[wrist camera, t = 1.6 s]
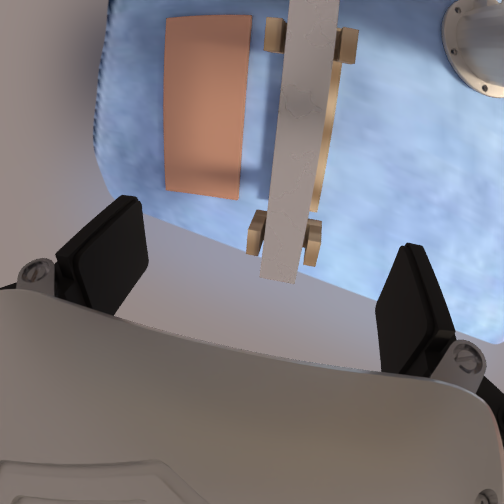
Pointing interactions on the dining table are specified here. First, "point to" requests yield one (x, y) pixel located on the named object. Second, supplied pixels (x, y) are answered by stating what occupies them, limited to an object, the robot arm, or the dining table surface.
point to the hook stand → (342, 54)
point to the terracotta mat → (205, 103)
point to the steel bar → (298, 133)
